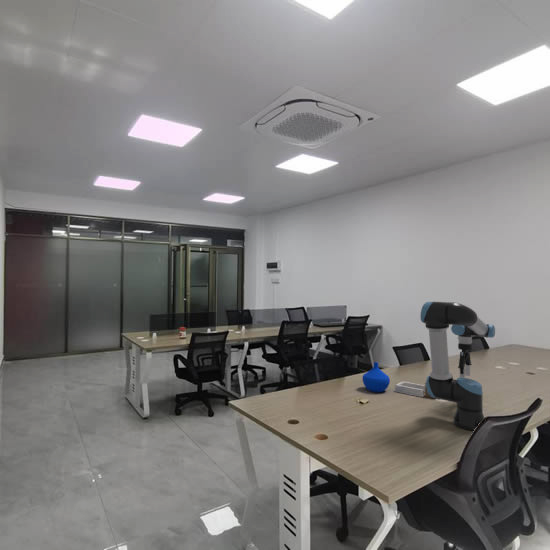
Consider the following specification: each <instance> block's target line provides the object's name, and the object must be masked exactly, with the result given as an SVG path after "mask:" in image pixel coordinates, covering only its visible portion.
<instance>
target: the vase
mask: <svg viewBox="0 0 550 550" xmlns="http://www.w3.org/2000/svg"><path fill="white" fill-rule="evenodd" d="M390 381H391V380H390V376H389V375H387V374H386V373H385V372H384V371H382V370H381V369H380V368H379V362H377V361H376V362H373V367H372V368H370V370H368V371H367V372H366V373H363V375H362V383H363V384H364V385H363V386H364V387H365V388H366V389H367V390H368V391H370V392H372V393H383V392H385V391H386V389H388V387H389V386H390V383H391V382H390Z"/></svg>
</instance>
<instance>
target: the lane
mask: <svg viewBox="0 0 550 550" xmlns="http://www.w3.org/2000/svg"><path fill="white" fill-rule="evenodd" d="M394 389H395V390H394V391H395V392H396V393H400V394H406V395H409V396H410V395H411V396H416V397H420V398H424V397H425V384H418V383H414V382H409V381H401V382H399V383H397V384H395V388H394Z"/></svg>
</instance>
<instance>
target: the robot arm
mask: <svg viewBox="0 0 550 550" xmlns="http://www.w3.org/2000/svg"><path fill="white" fill-rule="evenodd" d="M420 321H421V323H423V324H425V328H426V329H427V330H428V336H429V337H428V338H429V347H430V361H431V362H430V363H431V372H430V373H429V375H427V376H426V381H425V383H426V389H427V392H428V394H429V395H430V396H431V397H434V398H437V399H436V400H442V401H447V402H452V403H455V404H456V405H457V406H456V411H455V414H454V416H453V424H454V425H455V426H456V427H458V428H461V429H462V430H466V429H467V431H471V430H473V432H475V431H474V429H475V428H476V427H477V426H478V424H479V423H480V422H481V421H482V420H483V419H484V418H485V415H484V413H483V411H484V410H483V407H484V405H483V404H484V403H483V399H484V398H483V395H484V394H483V393H484V392H483V386H482V384H481V383H480V382H479V381H477V380H474V379H472V378H467V377H466V376H468V377H470V376H471V366H472V361H471V353H470V351H471V350H472V347H473V346H472V345H473V337H480V338H491V339H492V338H494V337H495V334H496V328H495V325H494V324H489V323H488V324H486V323H485V322H484V321H483V320H481V318H480V317H479V316H478V314H477V312H476V311H474V309H472V308H471V307H468V306H467V305H465V304H462V303H459V302H453V301H452V302H451V301H450V302H446V301H426V302H425V303H423V304H422V307H421V310H420ZM450 325H451V327H450ZM449 328H450V331H451V332H452V334H453V335H456V336H458V337H457V339H458V341H457V342H458V344H457V348H458V350H461V351H460V352H459V359H458V360H459V361H458V366H457V368H458V369H459V377H457V379H454V375H453V374H452V373H451V372H450V364H449V363H450V361H449V353H448V352H449V347H448V337H447V336H448V334H447V330H448V329H449ZM434 398H433V399H434Z"/></svg>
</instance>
